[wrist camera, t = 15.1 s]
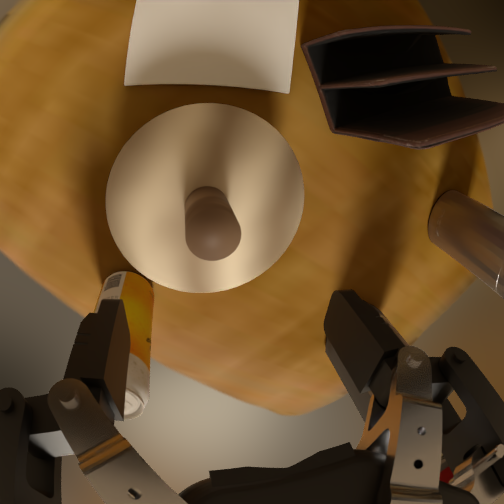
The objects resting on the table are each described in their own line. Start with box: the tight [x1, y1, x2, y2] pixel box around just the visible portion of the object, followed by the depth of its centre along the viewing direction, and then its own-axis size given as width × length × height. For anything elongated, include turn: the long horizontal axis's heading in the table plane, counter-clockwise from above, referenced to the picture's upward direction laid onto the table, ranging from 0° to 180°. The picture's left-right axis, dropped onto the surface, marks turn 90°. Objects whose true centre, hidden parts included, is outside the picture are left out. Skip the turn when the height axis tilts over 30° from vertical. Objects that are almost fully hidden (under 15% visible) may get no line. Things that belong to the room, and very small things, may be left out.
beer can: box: [94, 271, 154, 420], centre depth 23 cm, size 6×6×15 cm
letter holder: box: [301, 25, 504, 149], centre depth 18 cm, size 10×20×14 cm, turn 110°
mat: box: [124, 0, 299, 93], centre depth 18 cm, size 15×15×1 cm
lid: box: [106, 103, 304, 293], centre depth 19 cm, size 15×15×6 cm
